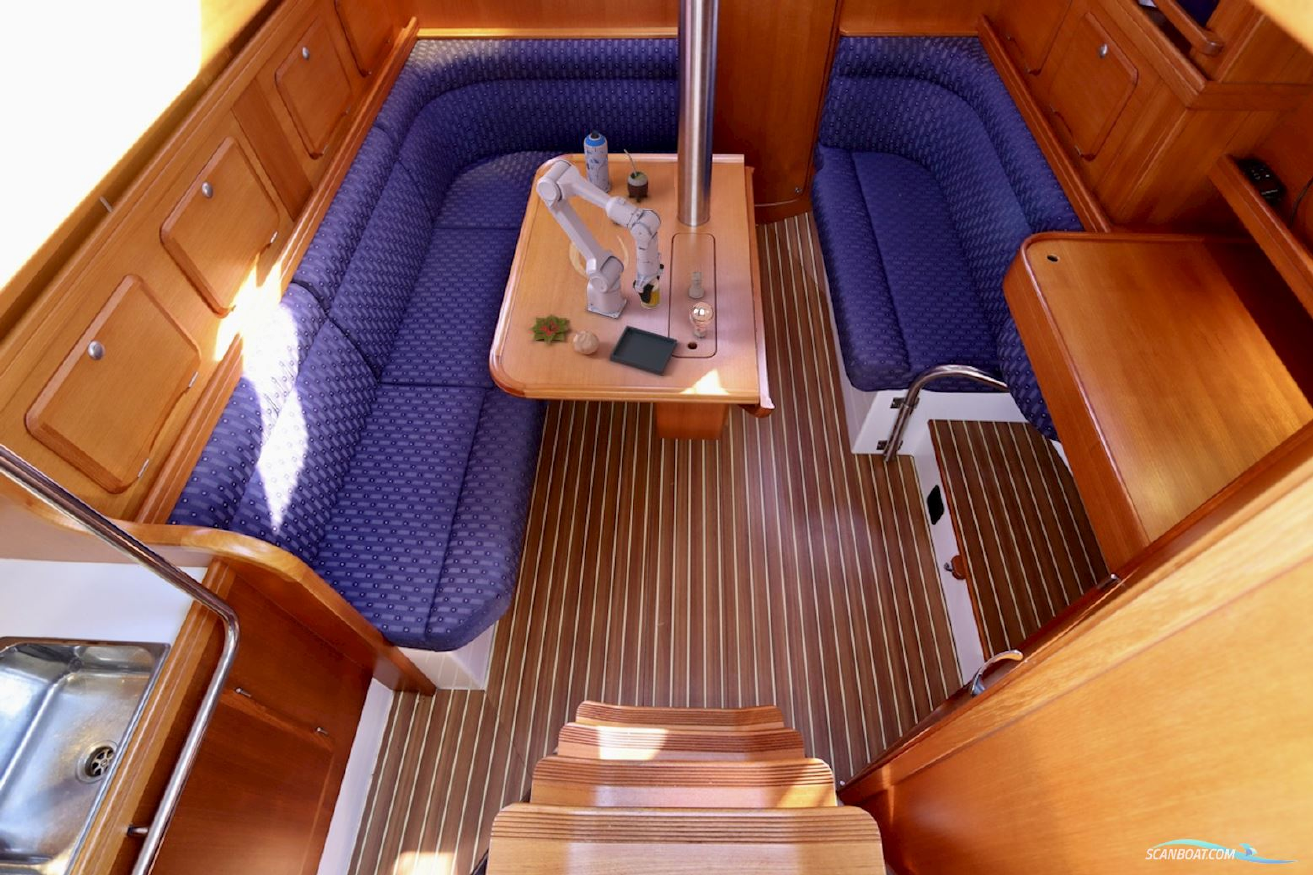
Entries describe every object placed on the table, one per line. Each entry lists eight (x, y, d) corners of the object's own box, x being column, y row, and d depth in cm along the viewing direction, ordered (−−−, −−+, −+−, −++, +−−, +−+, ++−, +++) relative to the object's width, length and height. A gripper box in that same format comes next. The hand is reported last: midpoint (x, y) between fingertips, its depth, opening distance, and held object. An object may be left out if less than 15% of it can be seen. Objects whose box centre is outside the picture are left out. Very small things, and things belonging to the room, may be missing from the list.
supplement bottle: (658, 310, 179) (657, 283, 171) (639, 308, 180) (637, 281, 172) (661, 297, 182) (660, 270, 174) (643, 295, 183) (641, 268, 175)
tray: (610, 360, 178) (609, 355, 177) (627, 330, 185) (626, 325, 183) (661, 376, 175) (661, 371, 174) (677, 344, 182) (677, 339, 180)
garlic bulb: (584, 338, 183) (581, 318, 176) (603, 347, 181) (601, 327, 175) (571, 353, 180) (568, 334, 173) (590, 362, 178) (587, 343, 171)
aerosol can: (585, 182, 223) (580, 126, 207) (608, 178, 224) (604, 123, 208) (589, 195, 219) (584, 140, 203) (612, 192, 220) (609, 137, 204)
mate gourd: (648, 203, 217) (647, 162, 204) (624, 203, 217) (622, 162, 204) (648, 189, 221) (648, 149, 209) (625, 189, 221) (623, 148, 209)
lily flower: (569, 346, 181) (567, 335, 177) (526, 346, 181) (523, 334, 178) (573, 315, 188) (571, 304, 184) (532, 315, 188) (529, 303, 184)
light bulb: (704, 348, 181) (707, 317, 171) (683, 338, 183) (684, 307, 173) (716, 332, 184) (719, 302, 174) (695, 323, 186) (697, 292, 176)
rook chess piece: (705, 290, 194) (707, 270, 187) (701, 300, 191) (702, 280, 185) (691, 287, 195) (692, 266, 188) (686, 297, 192) (687, 276, 186)
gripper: (652, 277, 163) (654, 316, 174) (671, 241, 171) (672, 281, 182) (626, 271, 164) (629, 310, 176) (646, 236, 172) (648, 275, 183)
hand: (649, 295), depth 179 cm, fingers closed on supplement bottle, 5 cm apart
